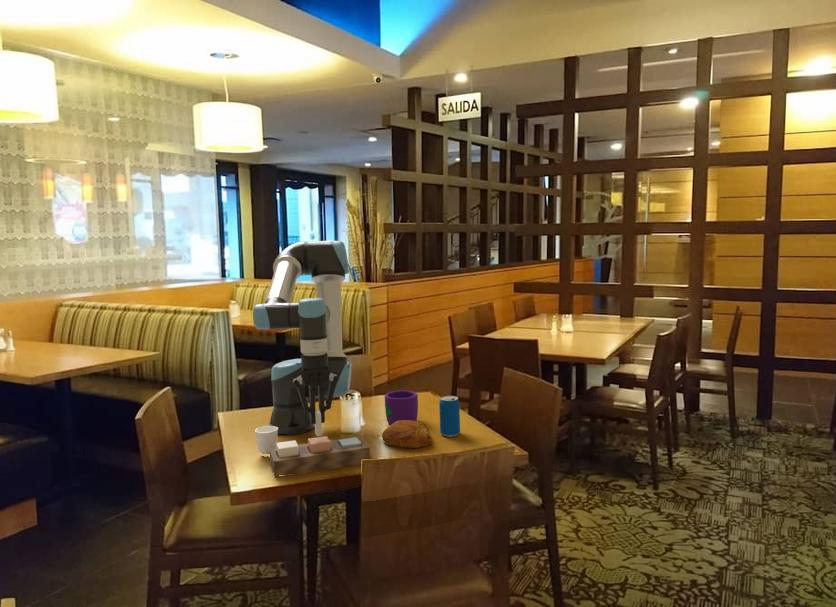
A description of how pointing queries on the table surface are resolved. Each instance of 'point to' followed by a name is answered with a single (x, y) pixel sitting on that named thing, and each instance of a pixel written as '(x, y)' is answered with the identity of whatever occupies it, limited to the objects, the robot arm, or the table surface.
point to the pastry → (407, 434)
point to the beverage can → (449, 416)
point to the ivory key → (287, 449)
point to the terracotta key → (318, 444)
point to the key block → (319, 458)
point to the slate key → (349, 443)
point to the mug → (401, 406)
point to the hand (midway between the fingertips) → (318, 434)
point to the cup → (266, 438)
